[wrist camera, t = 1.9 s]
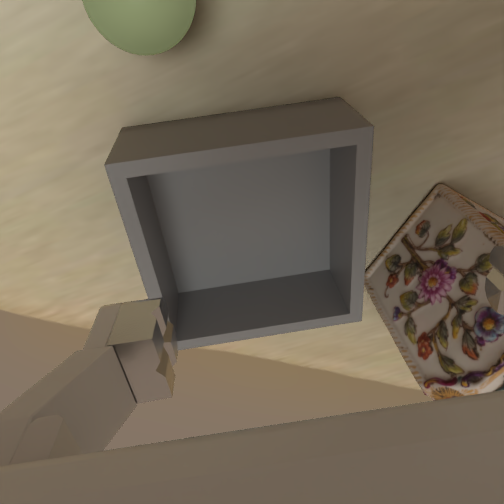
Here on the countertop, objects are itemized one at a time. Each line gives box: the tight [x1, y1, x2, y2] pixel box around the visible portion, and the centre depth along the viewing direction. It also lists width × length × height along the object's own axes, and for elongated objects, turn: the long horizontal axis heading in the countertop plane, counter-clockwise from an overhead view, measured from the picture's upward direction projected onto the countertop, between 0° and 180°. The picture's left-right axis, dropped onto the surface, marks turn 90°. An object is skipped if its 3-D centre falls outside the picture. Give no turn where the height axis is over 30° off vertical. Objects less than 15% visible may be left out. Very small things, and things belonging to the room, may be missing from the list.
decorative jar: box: [364, 184, 504, 401], centre depth 32 cm, size 12×12×18 cm
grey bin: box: [104, 97, 374, 350], centre depth 32 cm, size 16×16×7 cm
